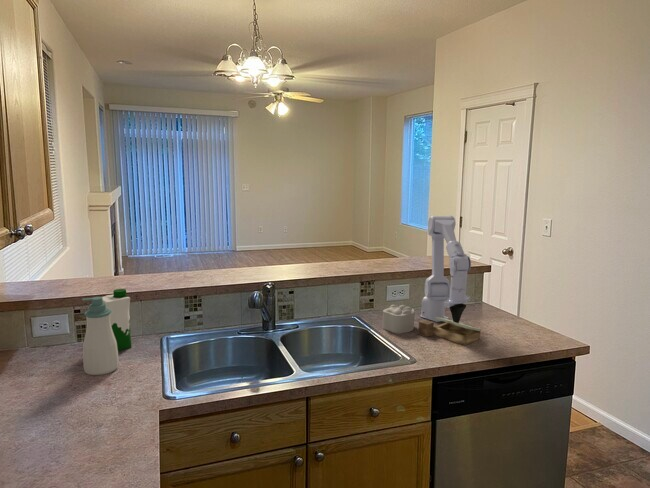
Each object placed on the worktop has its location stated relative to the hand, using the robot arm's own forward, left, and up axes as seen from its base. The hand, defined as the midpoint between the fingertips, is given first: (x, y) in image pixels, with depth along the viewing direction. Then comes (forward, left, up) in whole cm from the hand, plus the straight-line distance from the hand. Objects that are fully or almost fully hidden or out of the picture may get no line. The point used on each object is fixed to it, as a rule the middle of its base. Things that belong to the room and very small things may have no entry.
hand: (455, 322), depth 174 cm
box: (0, +1, -6) cm, 6 cm away
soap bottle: (-53, -111, -6) cm, 123 cm away
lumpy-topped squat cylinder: (-20, -8, -6) cm, 23 cm away
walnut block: (-9, -6, -6) cm, 12 cm away
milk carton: (-68, -102, -6) cm, 123 cm away
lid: (0, +1, -1) cm, 2 cm away
